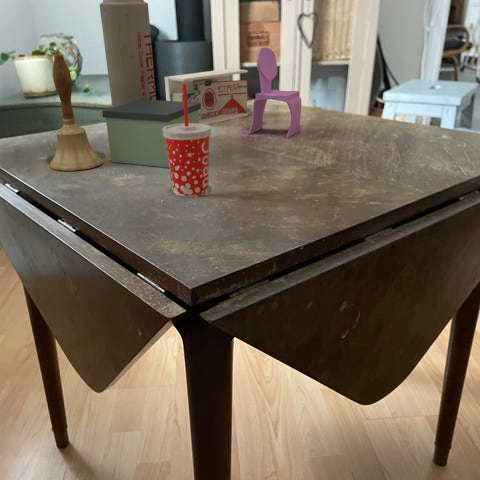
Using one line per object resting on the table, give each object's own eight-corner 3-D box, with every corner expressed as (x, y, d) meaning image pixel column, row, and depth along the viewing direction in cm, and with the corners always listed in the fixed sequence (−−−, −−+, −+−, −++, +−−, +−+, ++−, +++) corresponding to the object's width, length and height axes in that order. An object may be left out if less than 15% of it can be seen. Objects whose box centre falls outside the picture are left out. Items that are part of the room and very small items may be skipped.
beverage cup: (193, 208, 68) (186, 89, 61) (158, 199, 71) (147, 85, 64) (223, 196, 72) (220, 83, 65) (189, 188, 76) (182, 79, 68)
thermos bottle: (168, 139, 102) (154, -38, 88) (140, 148, 96) (121, -40, 82) (136, 135, 106) (118, -36, 92) (107, 143, 100) (83, -38, 86)
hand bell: (40, 164, 87) (18, 55, 79) (85, 155, 92) (69, 51, 84) (66, 174, 82) (46, 59, 74) (112, 164, 87) (98, 54, 79)
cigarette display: (185, 128, 110) (182, 78, 106) (168, 125, 114) (164, 76, 109) (251, 114, 123) (251, 69, 118) (234, 112, 126) (233, 68, 121)
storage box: (108, 162, 88) (101, 110, 84) (144, 146, 98) (139, 99, 93) (172, 168, 85) (167, 114, 81) (202, 151, 94) (200, 102, 90)
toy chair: (288, 139, 101) (290, 50, 94) (245, 135, 105) (245, 49, 97) (303, 130, 108) (307, 46, 100) (262, 127, 111) (263, 45, 103)
